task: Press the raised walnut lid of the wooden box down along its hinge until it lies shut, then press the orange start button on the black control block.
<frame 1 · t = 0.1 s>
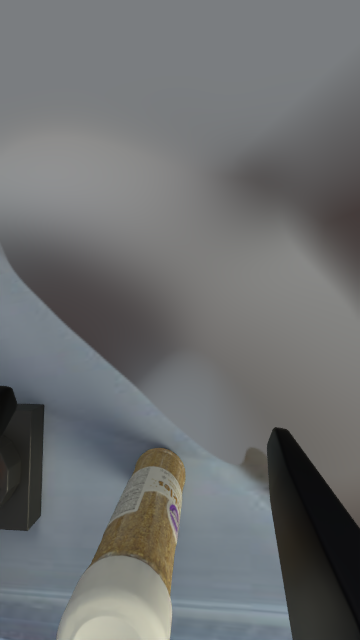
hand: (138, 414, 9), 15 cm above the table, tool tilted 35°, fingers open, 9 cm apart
sprinkles bottle: (160, 470, 24), on the table
control block: (1, 457, 25), on the table
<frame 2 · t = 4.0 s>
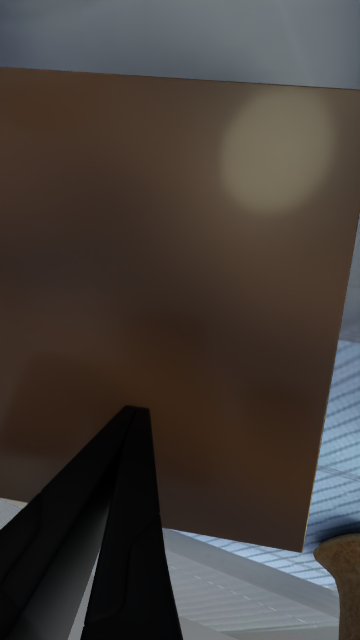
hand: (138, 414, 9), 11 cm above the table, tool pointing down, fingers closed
lid: (151, 313, 9), point 9 cm above the table, hinge at 26.7°
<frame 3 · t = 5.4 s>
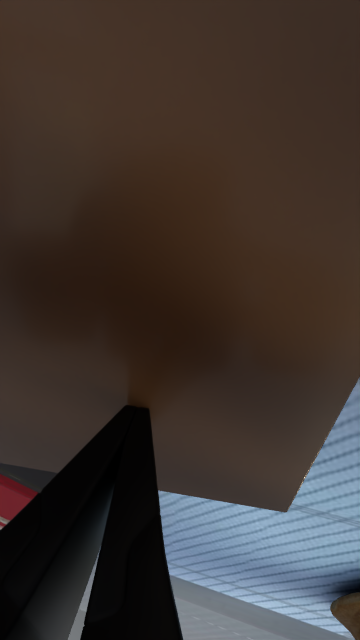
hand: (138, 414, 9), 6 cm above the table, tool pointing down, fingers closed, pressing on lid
calculator: (44, 489, 26), on the table
lid: (140, 334, 8), point 5 cm above the table, hinge at 1.2°, touching gripper
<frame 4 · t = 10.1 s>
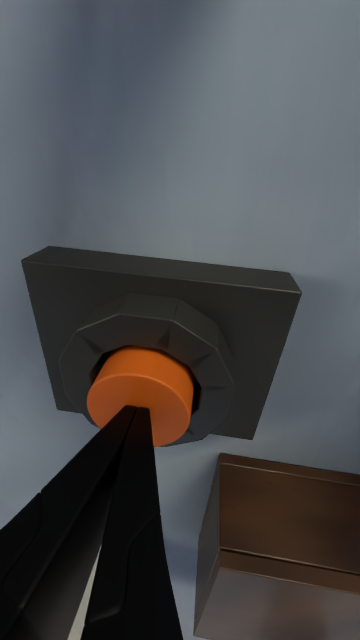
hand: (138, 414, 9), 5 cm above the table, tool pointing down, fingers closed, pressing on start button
start button: (143, 395, 10), point 4 cm above the table, slide at -0.2 cm, touching gripper
lid: (336, 626, 15), point 5 cm above the table, hinge at -0.2°, touching wooden box
control block: (161, 338, 13), on the table
jar: (90, 534, 26), on the table
wooden box: (305, 519, 20), on the table
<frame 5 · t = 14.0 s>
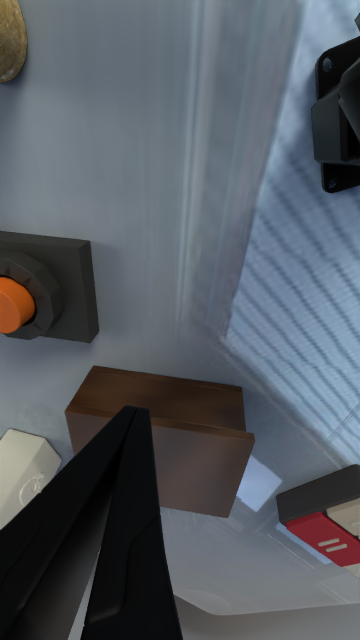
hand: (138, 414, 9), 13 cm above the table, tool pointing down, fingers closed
calculator: (350, 506, 33), on the table
start button: (3, 305, 19), point 4 cm above the table, slide at 0.2 cm
lid: (156, 467, 24), point 5 cm above the table, hinge at -0.2°, touching wooden box
control block: (36, 282, 22), on the table
jar: (30, 449, 36), on the table
wooden box: (163, 418, 29), on the table
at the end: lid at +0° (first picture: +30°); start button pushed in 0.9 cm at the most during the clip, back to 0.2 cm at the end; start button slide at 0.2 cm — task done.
